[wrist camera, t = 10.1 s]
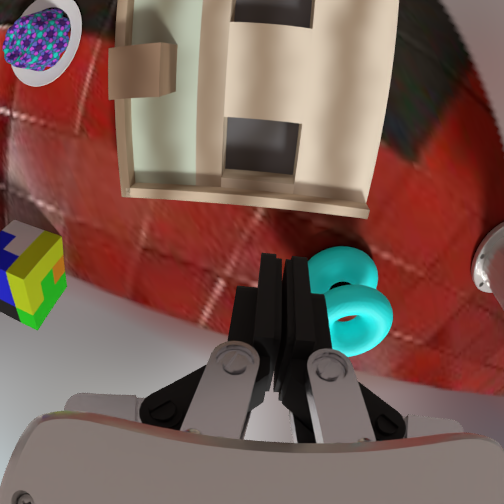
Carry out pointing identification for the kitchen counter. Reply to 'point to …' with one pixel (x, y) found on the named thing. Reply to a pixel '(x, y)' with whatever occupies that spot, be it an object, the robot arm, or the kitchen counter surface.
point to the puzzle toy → (30, 272)
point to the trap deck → (259, 102)
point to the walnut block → (142, 70)
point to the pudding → (43, 41)
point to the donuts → (351, 298)
